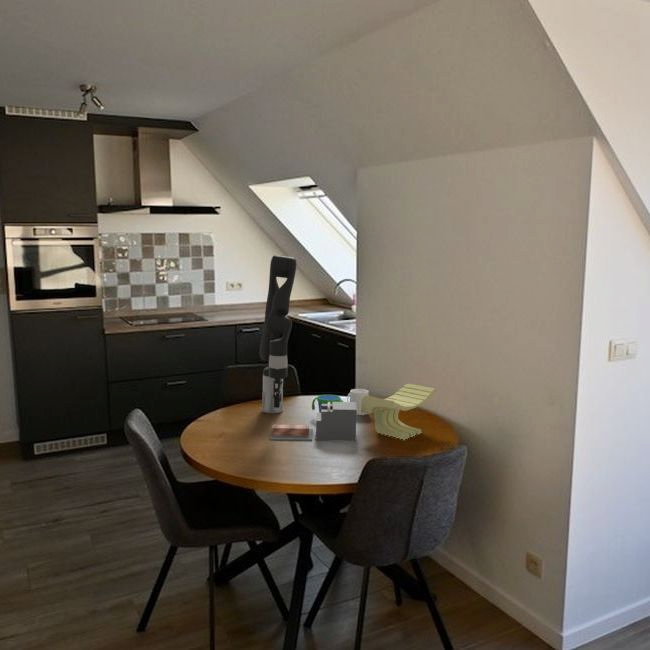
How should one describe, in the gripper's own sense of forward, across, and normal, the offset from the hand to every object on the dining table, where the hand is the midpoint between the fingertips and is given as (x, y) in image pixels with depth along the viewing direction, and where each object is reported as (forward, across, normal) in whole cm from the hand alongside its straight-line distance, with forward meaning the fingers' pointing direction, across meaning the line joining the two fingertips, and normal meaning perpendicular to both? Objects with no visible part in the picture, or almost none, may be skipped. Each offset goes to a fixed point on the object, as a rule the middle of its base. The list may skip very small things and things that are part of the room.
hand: (277, 404), depth 261 cm
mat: (+13, 0, +6) cm, 14 cm away
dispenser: (+12, 0, +24) cm, 27 cm away
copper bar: (+12, 0, +6) cm, 13 cm away
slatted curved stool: (+13, -6, +50) cm, 52 cm away
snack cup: (+13, -24, +21) cm, 34 cm away
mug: (+13, -36, +34) cm, 51 cm away
